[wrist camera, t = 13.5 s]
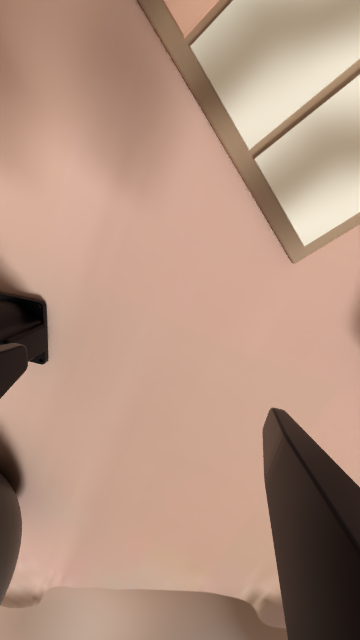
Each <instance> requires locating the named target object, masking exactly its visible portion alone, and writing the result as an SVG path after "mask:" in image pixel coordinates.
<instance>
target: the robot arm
mask: <svg viewBox="0 0 360 640" xmlns="http://www.w3.org/2000/svg"><path fill="white" fill-rule="evenodd" d="M39 305H40V306H41V308H40V307H39ZM42 359H43V360H42ZM29 361H30V362H34V363H38V364H45V363H46V362H47V361H48V338H47V311H46V304H45V303H44V302H43V301H40V300H36V299H31V298H27V297H22V296H18V295H13V294H9V293H4V292H0V398H1V397H2V396H3V395H4V394H5V393H6V392H7V391H8V390H9V388H10V387H11V386H12V385H13V384H14V383H15V382H16V381H17V380H18V379H19V378H20V376H21V375H22V374H23V373H24V372H25V371H26V369H27V366H28V362H29ZM263 457H264V479H265V488H266V495H267V502H268V508H269V515H270V522H271V529H272V535H273V542H274V549H275V556H276V562H277V569H278V576H279V583H280V589H281V596H282V603H283V610H284V616H285V623H286V630H287V636H288V640H360V487H359V486H358V485H357V484H356V483H355V482H354V481H353V480H352V479H351V478H350V477H349V476H348V475H347V474H346V473H345V472H344V471H343V470H342V469H341V468H340V467H339V466H338V465H337V464H336V463H335V462H334V461H333V460H332V459H331V458H330V456H329V455H328V454H327V453H326V452H325V451H324V450H323V449H322V448H321V447H320V446H319V445H318V444H317V443H316V442H315V441H314V440H313V439H312V438H311V437H310V436H309V435H308V434H307V433H306V432H305V431H304V430H303V429H302V428H301V427H300V426H299V425H298V424H297V423H296V422H295V421H294V420H293V419H292V418H291V417H290V416H289V415H288V414H287V412H285V411H284V410H281V409H277V408H271V409H270V410H269V413H268V416H267V418H266V421H265V424H264V427H263Z"/></svg>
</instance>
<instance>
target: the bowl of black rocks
mask: <svg viewBox="0 0 360 640" xmlns="http://www.w3.org/2000/svg"><path fill="white" fill-rule="evenodd" d="M21 534H22V519H21V511H20V506H19V503H18V499H17V497H16V494H15V492H14V490H13V488H12V487H11V485H10V484H9V482H8V481H7V480H6V479H5V478H4V477H3V476H2V475H1V474H0V605H1V602H2V600H3V598H4V596H5V594H6V591H7V589H8V587H9V584H10V582H11V579H12V576H13V573H14V570H15V566H16V563H17V559H18V555H19V550H20V544H21Z"/></svg>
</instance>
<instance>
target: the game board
mask: <svg viewBox="0 0 360 640" xmlns="http://www.w3.org/2000/svg"><path fill="white" fill-rule="evenodd" d="M138 2H139V4H140V5H141V7H142V9H143V11H144V12H145V14H146V16H147V17H148V19H149V21H150V22H151V24H152V26H153V28H154V29H155V31H156V33H157V34H158V36H159V38H160V39H161V41H162V43H163V44H164V46H165V48H166V50H167V51H168V53H169V55H170V56H171V58H172V60H173V61H174V63H175V65H176V67H177V68H178V70H179V72H180V73H181V75H182V77H183V78H184V80H185V82H186V84H187V85H188V87H189V89H190V90H191V92H192V94H193V95H194V97H195V99H196V100H197V102H198V104H199V106H200V107H201V109H202V111H203V112H204V114H205V116H206V117H207V119H208V121H209V123H210V124H211V126H212V128H213V129H214V131H215V133H216V134H217V136H218V138H219V140H220V141H221V143H222V145H223V146H224V148H225V150H226V151H227V153H228V155H229V156H230V158H231V160H232V162H233V163H234V165H235V167H236V168H237V170H238V172H239V173H240V175H241V177H242V179H243V180H244V182H245V184H246V185H247V187H248V189H249V190H250V192H251V194H252V196H253V197H254V199H255V201H256V202H257V204H258V206H259V207H260V209H261V211H262V212H263V214H264V216H265V218H266V219H267V221H268V223H269V224H270V226H271V228H272V229H273V231H274V233H275V235H276V236H277V238H278V240H279V241H280V243H281V245H282V246H283V248H284V250H285V252H286V253H287V255H288V257H289V258H290V260H291V262H292V263H294V264H295V263H297V262H298V261H300V260H302V259H303V258H305V257H307V256H308V255H310V254H312V253H313V252H315V251H316V250H318V249H320V248H321V247H323V246H325V245H326V244H328V243H330V242H331V241H333V240H335V239H336V238H338V237H339V236H341V235H343V234H344V233H346V232H348V231H349V230H351V229H353V228H354V227H356V226H358V225H359V224H360V0H138Z"/></svg>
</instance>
